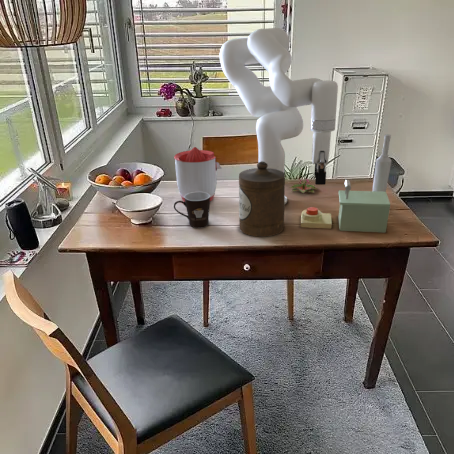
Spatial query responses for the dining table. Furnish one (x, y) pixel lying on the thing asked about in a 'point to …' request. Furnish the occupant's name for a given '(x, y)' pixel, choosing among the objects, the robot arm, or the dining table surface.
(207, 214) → the coffee mug
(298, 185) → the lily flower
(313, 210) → the button
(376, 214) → the compartment
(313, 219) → the control block
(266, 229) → the wooden container
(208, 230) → the dining table surface
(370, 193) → the lid
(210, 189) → the citrus juicer
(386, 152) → the bottle
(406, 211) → the dining table surface
